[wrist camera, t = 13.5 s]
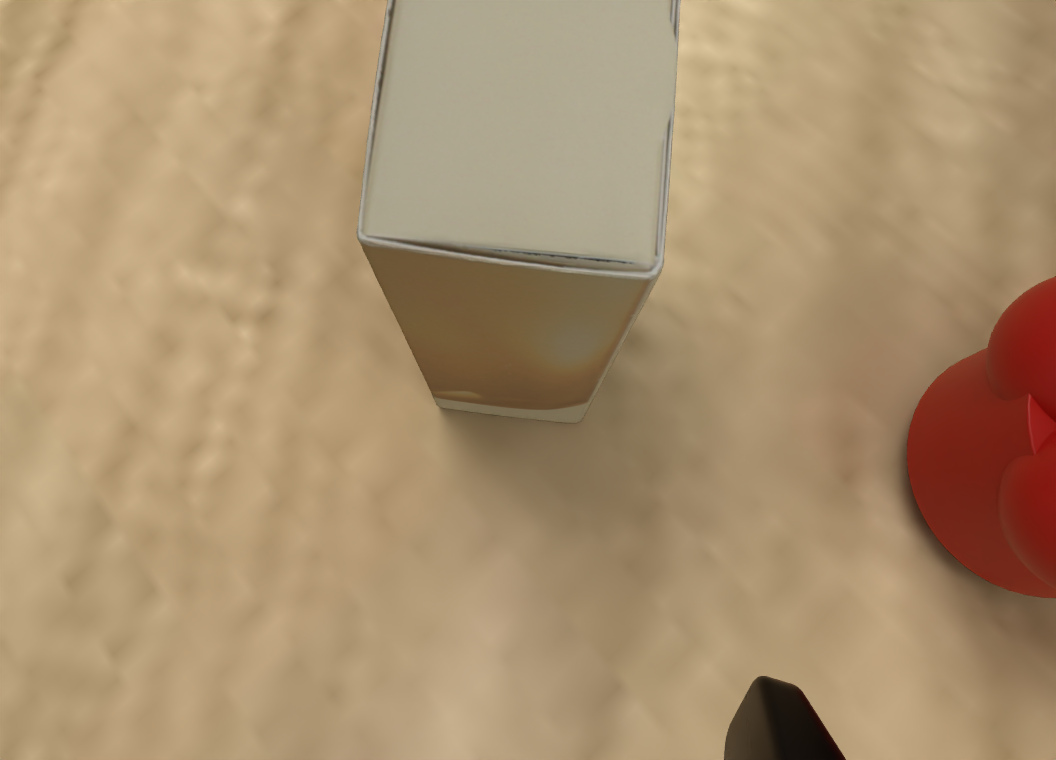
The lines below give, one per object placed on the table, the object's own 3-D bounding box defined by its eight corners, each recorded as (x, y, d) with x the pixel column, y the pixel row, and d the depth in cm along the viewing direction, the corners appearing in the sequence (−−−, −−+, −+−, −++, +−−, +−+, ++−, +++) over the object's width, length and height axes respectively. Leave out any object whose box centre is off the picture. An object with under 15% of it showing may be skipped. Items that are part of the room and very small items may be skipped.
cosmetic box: (459, 213, 24) (407, -150, 12) (602, 228, 24) (693, -121, 12) (432, 420, 22) (339, 241, 10) (584, 436, 22) (668, 275, 10)
